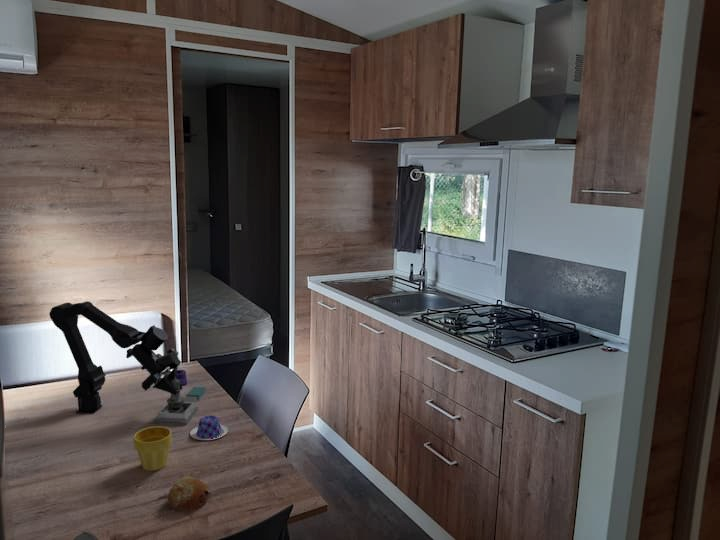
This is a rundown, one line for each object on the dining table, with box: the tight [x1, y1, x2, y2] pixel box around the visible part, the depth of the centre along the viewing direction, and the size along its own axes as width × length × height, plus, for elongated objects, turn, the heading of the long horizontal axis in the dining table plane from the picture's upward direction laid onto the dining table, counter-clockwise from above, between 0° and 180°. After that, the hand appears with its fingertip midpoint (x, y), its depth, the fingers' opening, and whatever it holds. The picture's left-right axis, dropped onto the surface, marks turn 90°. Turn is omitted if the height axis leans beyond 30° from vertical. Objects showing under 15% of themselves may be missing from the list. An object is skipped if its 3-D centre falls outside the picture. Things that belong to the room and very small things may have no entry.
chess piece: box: [166, 377, 185, 412], centre depth 200 cm, size 6×6×12 cm
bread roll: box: [167, 475, 211, 512], centre depth 151 cm, size 10×10×8 cm
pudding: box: [189, 415, 229, 441], centre depth 190 cm, size 12×12×5 cm
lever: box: [177, 369, 188, 387], centre depth 235 cm, size 12×6×3 cm, turn 30°
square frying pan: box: [154, 386, 207, 425], centre depth 210 cm, size 11×29×4 cm, turn 176°
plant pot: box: [132, 425, 173, 472], centre depth 168 cm, size 10×10×10 cm
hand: (179, 391), depth 200 cm, fingers closed on chess piece, 4 cm apart
